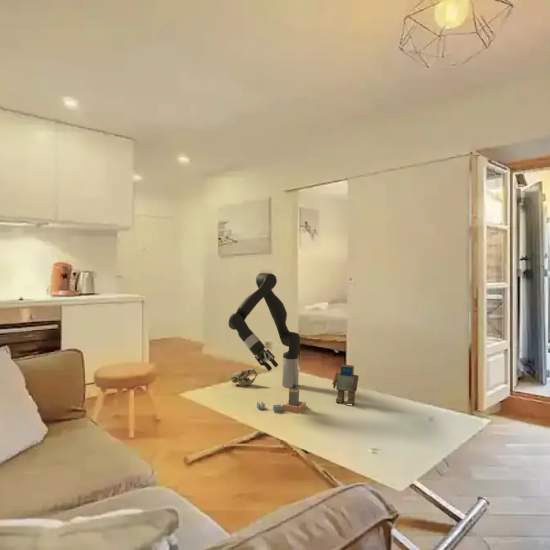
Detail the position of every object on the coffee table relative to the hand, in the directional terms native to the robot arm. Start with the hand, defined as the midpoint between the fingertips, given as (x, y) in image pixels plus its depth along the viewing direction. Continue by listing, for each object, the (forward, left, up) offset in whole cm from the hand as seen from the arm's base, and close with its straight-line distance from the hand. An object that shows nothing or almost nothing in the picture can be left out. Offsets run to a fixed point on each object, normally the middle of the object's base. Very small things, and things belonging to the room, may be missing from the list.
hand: (273, 368), depth 222 cm
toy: (-32, +24, -20) cm, 45 cm away
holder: (-4, +11, -20) cm, 23 cm away
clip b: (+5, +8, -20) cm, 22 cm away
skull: (-16, -39, -20) cm, 47 cm away
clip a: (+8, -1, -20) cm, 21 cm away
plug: (-4, +11, -19) cm, 22 cm away
